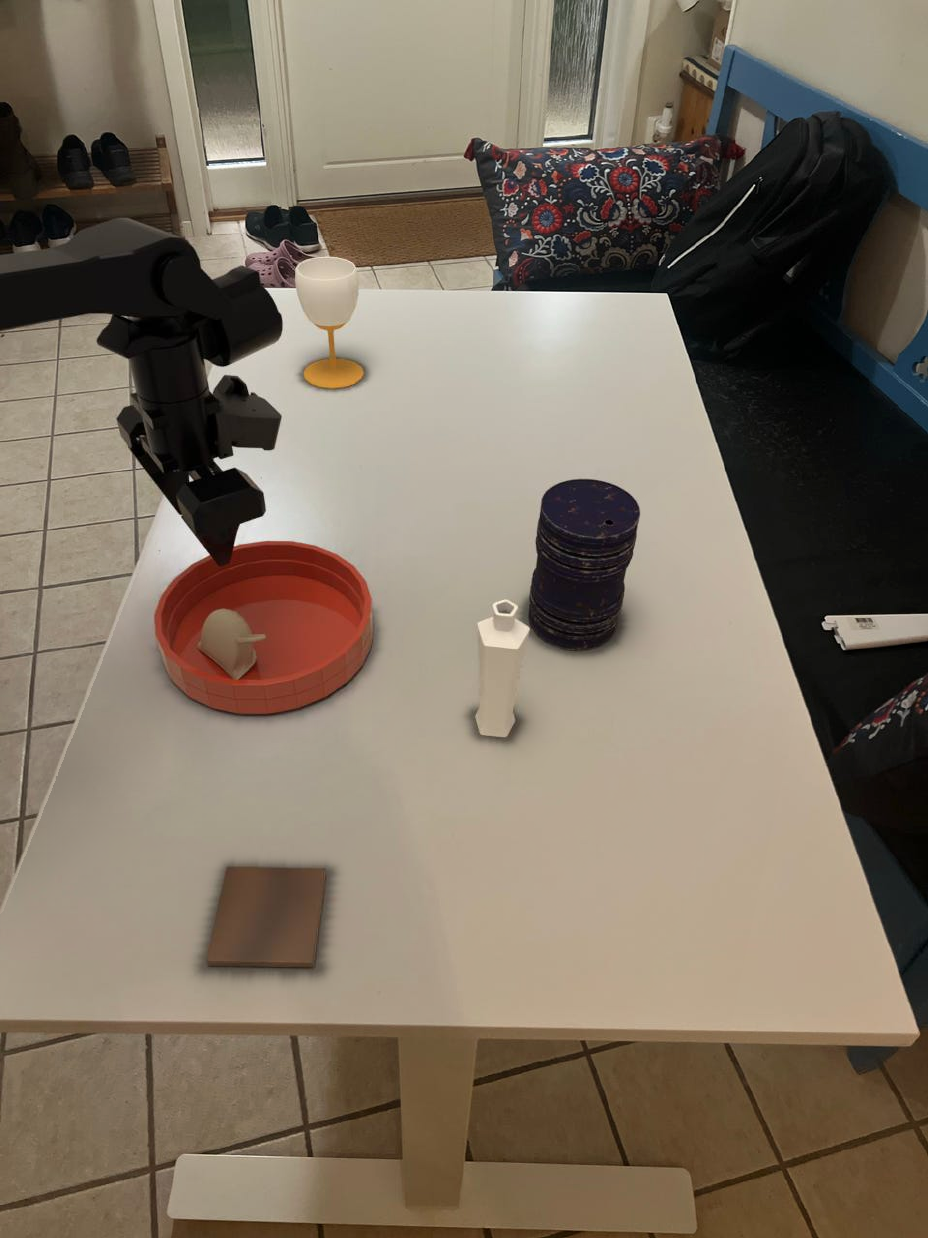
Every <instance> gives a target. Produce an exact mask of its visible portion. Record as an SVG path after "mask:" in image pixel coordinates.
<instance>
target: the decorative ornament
mask: <svg viewBox="0 0 928 1238" xmlns="http://www.w3.org/2000/svg"><path fill="white" fill-rule="evenodd" d="M265 639H266V636H265V635H263V634H257V635H253V633H252V631H251V630H250V628H249V625H248V624H247V623H246V621H245V619H244V618H243V617H242V616H240V615H239V614H238V613H237V612H234V611H232V610H230V609H227V610H226V609H219V610H215V611H214V612H212V613H211V614H210V615H209V616H208V618H207V619H206V621H205V623H204V625H203V628H202V632H201V641H200V642H199V643H198V645H197V648H198V649H200V650H201V651H202V652H204V653H205V654H206V655H208V656H209V657H210V658H212V659H213V660H214V661H215V662H217V663H218V664H219V665H220V666H221V667H222V668H223V669H224V670H225V671H226V672H227V673H228V674H229V675H230V676H231V677H232V678H233V679H234V680H239V679H240V678H241V677H242V676H243V675H244V674H245V673H246V672H247V671H248V670H249V669H250V668H251V667H252V666H253V665H254V664H255V661H256V658H257V656H256V655H255V653H256V651H255V650H254V648H253V644H254V642H257V641H263V640H265Z"/></svg>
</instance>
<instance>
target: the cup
mask: <svg viewBox="0 0 928 1238" xmlns="http://www.w3.org/2000/svg"><path fill="white" fill-rule="evenodd" d="M294 271H295V273H294V285H295V288H296V295H297V298H298V301H299V304H300V307H301V309H302V312H303V313H304V315H305V316H306V318H307V320H308V321H309V322H310V323H312V324H313V325H314V326H316V327H317V329H318V328H319V329H320V330H324V331H327V339H328V352H329V358H326V359H321V360H317V361H313V362H312V363H311V364H309V365H308V366H306V367H305V369H304V371H303V378H304V380H305V381H306V382H308V383H309V384H310V385H312V386H314V387H318V388H321V389H330V390H331V389H332V390H335V389H342V388H343V389H344V388H347V387H350V386H353V385H356V384H357V383H358V382H360V381H361V380H362V379H363V377H364V374H365V373H364V369H363V367H362V366H361V365H359V364H358V363H357V362H355V361H352V360H348V359H346V358H345V359H344V358H336V349H335V347H336V345H335V330H339V329H341V328H343V327H344V326H345V325H346V324H347V323H349V321H350V320H351V318H352V317H353V314H354V312H355V310H356V307H357V303H358V299H359V291H360V288H359V286H360V280H359V275H358V270H357V267H356V265H355V263H353V262H351V261H350V260H349V259H346V258H342V257H337V256H317V257H316V256H315V257H312V258H307V259H305V260H303V261H301V262H299V263H298V264H297V265H296V267H295V270H294Z"/></svg>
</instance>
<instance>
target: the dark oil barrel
mask: <svg viewBox="0 0 928 1238" xmlns="http://www.w3.org/2000/svg"><path fill="white" fill-rule="evenodd" d="M539 510H540V511H539V516H538V520H537V527H536V536H535V551H536V554H537V555H536V563H535V568H534V570H533V572H532V577H531V582H530V583H531V584H530V587H529V596H528V600H529V607H528V612H527V621H528V623H529V627H530V628H531V630H532V632H533V633H534V634H535V635H536V636H537V637H538V638H540V640H542V641H544V642H545V643H547V644H549V645H551V646H552V647H555V648H558V649H563V650H567V651H589V650H593V649H596V648H599V647H601V646H603V645H605V644H607V643H608V642H609V641H610V640H611V639H612V638H613V637H614V635H615V633H616V631H617V627H618V621H619V618H620V615H621V612H622V610H623V609H622V608H623V603H624V597H625V590H626V585H625V578H626V572H627V569H628V567H629V566H630V563H631V561H632V560H633V556H634V549H635V547H636V541H637V537H638V527H639V526H638V525H639V522H640V517H641V508H640V504H639V503H638V501H637V499H635V497H634V496H633V495H632V494H631V493H630V492H629V491H626V490H625V488H622V487H620V486H619V485H616V484H613V483H611V482H608V481H604V480H600V479H593V478H573V479H567V480H562V481H560V482H558V483H556V484H553V485H552V486H551V487H549V488H548V489H547V490H546V491H545V492H544V493H543V495H542V498H541V501H540V509H539Z"/></svg>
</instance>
